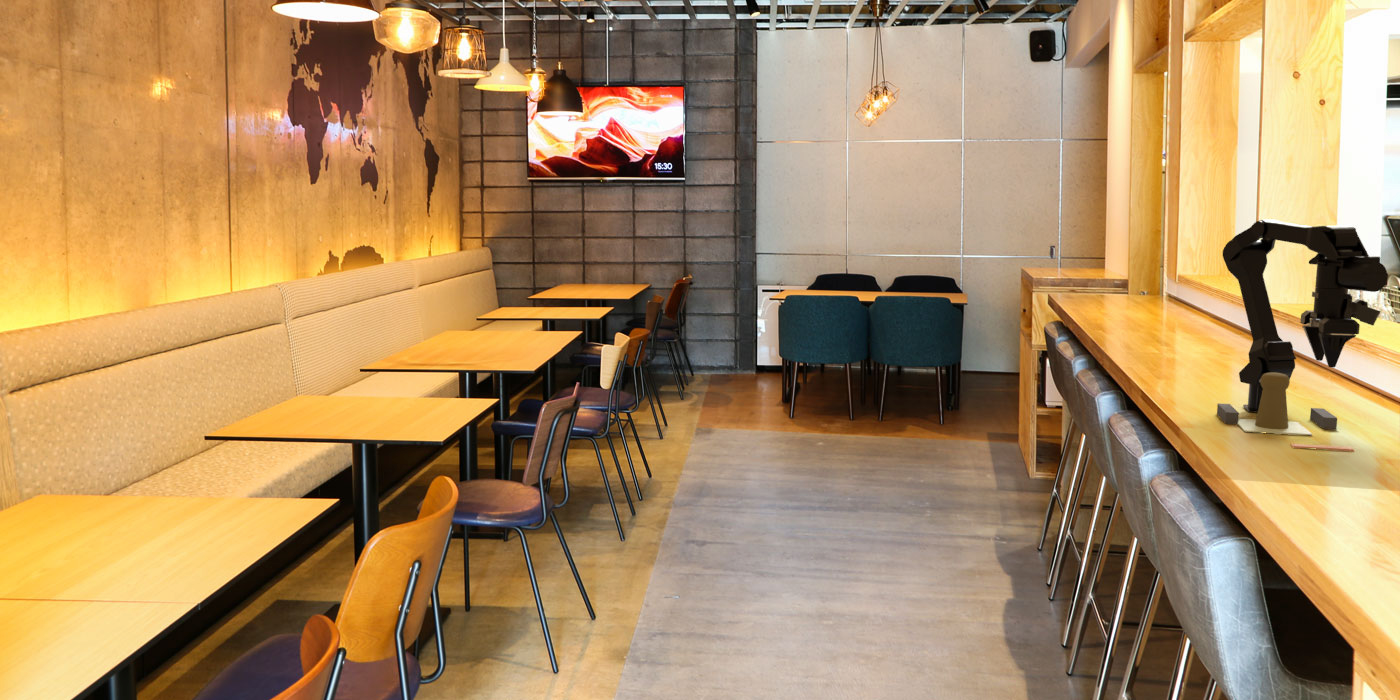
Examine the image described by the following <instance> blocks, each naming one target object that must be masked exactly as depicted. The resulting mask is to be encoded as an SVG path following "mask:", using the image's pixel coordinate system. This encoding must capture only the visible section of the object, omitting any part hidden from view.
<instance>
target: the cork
mask: <svg viewBox="0 0 1400 700" xmlns="http://www.w3.org/2000/svg"><path fill="white" fill-rule="evenodd" d="M1290 380H1291V379H1290ZM1290 380H1289V377H1288V376H1287V375H1285V374H1282V373H1275V372H1271V373H1265V374H1263V375H1262V377H1261V380H1260V383H1261V386H1262V387H1263V391H1262V395H1261V400H1260V404H1259V409H1258V412H1256V418H1255V420H1256V422H1255V425H1256V426H1258V427H1262V428H1269V429H1287V428H1288V421H1289V418H1288V417H1289V416H1288V402H1287V391H1286V390H1287V389H1288V388H1289V387H1290Z"/></svg>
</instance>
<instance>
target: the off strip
mask: <svg viewBox="0 0 1400 700" xmlns="http://www.w3.org/2000/svg"><path fill="white" fill-rule="evenodd" d="M1290 446H1291V447H1292V448H1293V447H1294V448H1293V449H1300V448H1316V449H1315V450H1317V449H1327V450H1326V451H1334V450H1337V452H1338V451H1339V452H1350V453H1352V452H1355V449H1354V448H1353V447H1351V446H1337V445H1336V446H1335V445H1323V444H1322V445H1321V444H1320V445H1319V444H1305V443H1304V444H1303V443H1290Z"/></svg>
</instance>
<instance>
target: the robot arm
mask: <svg viewBox="0 0 1400 700" xmlns="http://www.w3.org/2000/svg"><path fill="white" fill-rule="evenodd" d="M1276 241H1280V242H1287V243H1292V244H1298V245H1303V246H1305V247H1306V248H1307V249H1308V250H1310V251H1311V252H1315V253H1316V255H1315V256H1314V257H1312V258H1311V259H1310V260H1309V261H1308V264H1309V265H1316V275H1315V288H1314V291H1312V292H1311V297H1313V298H1314V300H1313V301H1314V302H1313V310H1312V309H1311V310H1309V309H1306V310H1305V311H1303V312H1302V313H1301V314H1300V322H1299V323H1300V324H1301V325H1302V329H1303V331H1304V333H1305V336H1306V337H1307V340H1308V342H1309V345H1310V347H1311V350H1312V353H1313V355H1314V358H1315V360H1316V361H1317V362H1318V361H1319V362H1321V361H1323V359H1324V357H1325V359H1326V363H1327V366H1328V368H1335V367H1336V366H1337V364H1338V361H1339V359H1340V357H1341V354H1342V351H1343V349H1344V347H1345V344H1346V343H1347V342H1349V341H1350V340H1352V339H1355V338H1356V337H1357V335H1360V325H1361V324H1360V323H1358V321H1357V320H1359V322H1362V323H1364V324H1367V325H1370V326H1374V325H1375V323H1376V322H1377V319H1378V318H1379V315H1380V314H1381V310H1377V309H1374V308H1372V307H1370V306H1369V303H1368V301H1365V300H1362V299H1359V298H1358V299H1356V300H1354V301H1353V295H1352V294H1351V293H1350V292H1349V290H1351V291H1362V292H1371V293H1373V292H1374V293H1375V292H1379V291H1381V290H1382V289H1383V288H1385V286H1386V284H1387V282H1388V279H1389V273H1388V272H1387V269H1386V267H1385V265H1384V264H1382V262H1381V256H1374V255H1373V256H1370V255H1369V254H1368V251H1367V250H1366V247H1365V246H1364V244H1363V243H1362V240H1361V238H1360V236H1359V234H1358V232H1357V228H1355V226H1352V225H1318V226H1316V225H1315V226H1313V225H1305V224H1300V223H1299V224H1297V223H1293V222H1285V221H1280V220H1277V219H1260V220H1259V219H1258V220H1256V221H1255V222H1254V223H1253V224H1252V225H1251V226H1250V227H1248V228H1247V229H1245V230H1244V231H1241V232H1240V233H1238V234H1236V235H1235V236H1234V237H1232V239H1230V240H1229V241H1227V243H1226V244H1225V246H1224V248H1223V250H1222V258H1223V261H1224V263H1225V266H1226V268H1227V271H1228V272H1229V273H1230V274H1231V275H1233V277H1235V279H1236V280H1237V282H1238V286H1239V289H1240V292H1241V293H1240V294H1241V298H1242V301H1243V306H1244V309H1245V313H1246V318H1247V321H1248V325H1249V330H1250V334H1251V339H1252V342H1251V343H1252V344H1251V346H1250V348H1249V351H1248V363H1247V364H1246V365H1245V366H1244V367H1243V368H1242V369H1241V370H1240V371H1239V372H1238V376H1239V381H1240V383H1243V384H1248V386H1249V387H1248V397H1247V398H1248V399H1247V404H1242V405H1243V406H1242V407H1243V408H1244V409H1245V410H1246V411H1248V412H1250V413H1258V409H1259V404H1260V400H1261V395H1262V391H1263V387H1262V386H1261V383H1260V380H1261V377H1262V375H1263V374H1265V373H1271V372H1275V373H1282V374H1285V375H1287V376H1288V377H1289V380H1291V377H1292V374H1293V372H1294V370H1295V368H1296V362H1295V360H1297V357H1296V355H1295V353H1294V349H1293V347H1294V346H1293V344H1292V342H1291V341H1289V340H1287V341H1283V340H1282V338H1281V337H1280V336H1279V334H1278V329H1277V325H1276V322H1275V318H1274V314H1273V311H1272V306H1271V302H1270V298H1269V294H1268V290H1267V286H1266V283H1265V279H1264V278H1265V277H1264V272H1265V270H1266V268H1267V264H1268V254H1269V253H1270V252H1272V250H1274V248H1275V244H1276Z"/></svg>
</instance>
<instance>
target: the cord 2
mask: <svg viewBox="0 0 1400 700" xmlns="http://www.w3.org/2000/svg"><path fill="white" fill-rule="evenodd" d="M1309 419H1310V420H1311V421H1312V420H1313V421H1314V422H1313V421H1312V422H1313V423H1315V424H1316V423H1317V424H1318V425H1317V424H1316V425H1317V426H1319V427H1320V426H1321V427H1322V428H1325V429H1324V430H1334V429H1336V430H1337V426H1338V417H1337V416H1335V415H1334V414H1333V413H1331V412H1329V410H1326V409H1325V408H1322V407H1319V408H1317V407H1310V417H1309ZM1321 427H1320V428H1321ZM1322 428H1321V429H1322Z"/></svg>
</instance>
